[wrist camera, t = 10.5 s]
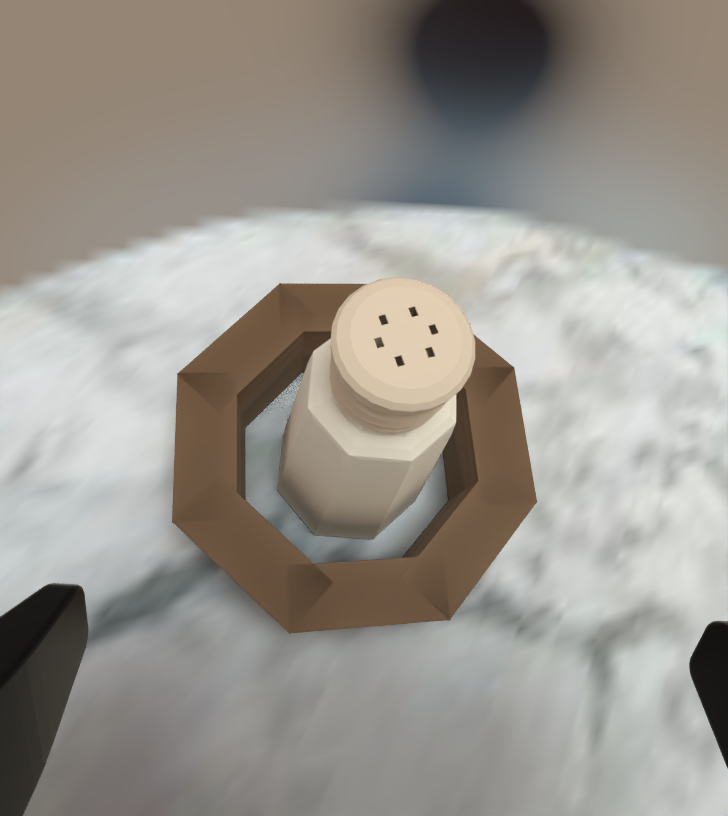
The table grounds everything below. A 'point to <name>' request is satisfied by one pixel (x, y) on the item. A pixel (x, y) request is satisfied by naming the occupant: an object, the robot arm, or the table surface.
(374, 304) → the pepper shaker
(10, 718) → the robot arm
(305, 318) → the ring holder
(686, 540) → the table surface
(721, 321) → the table surface
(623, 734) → the table surface
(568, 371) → the table surface
